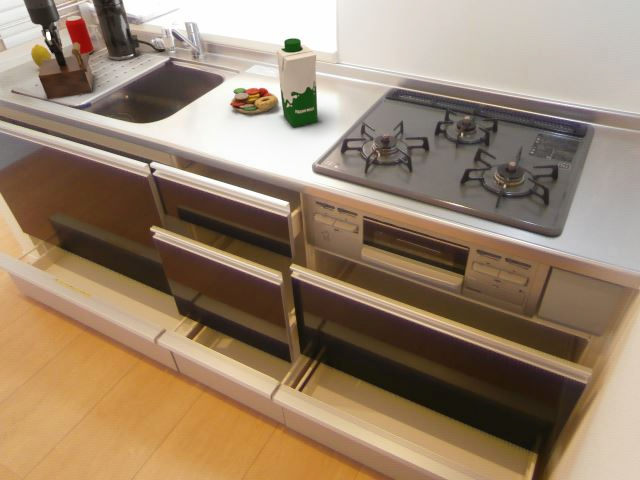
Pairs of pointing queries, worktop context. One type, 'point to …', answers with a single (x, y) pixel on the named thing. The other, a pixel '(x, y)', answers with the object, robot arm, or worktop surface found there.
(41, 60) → the lemon
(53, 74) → the lid
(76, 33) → the beverage can
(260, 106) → the toy food set
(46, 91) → the chest
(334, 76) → the worktop surface
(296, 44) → the soya milk
